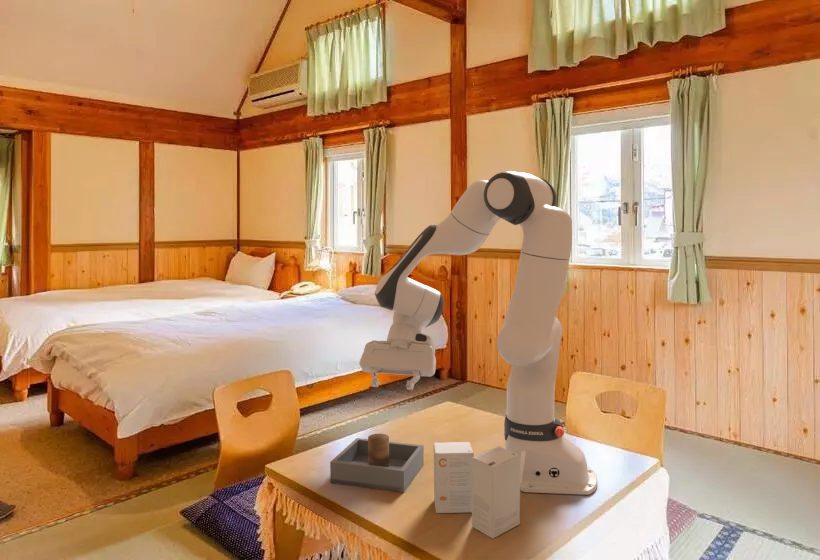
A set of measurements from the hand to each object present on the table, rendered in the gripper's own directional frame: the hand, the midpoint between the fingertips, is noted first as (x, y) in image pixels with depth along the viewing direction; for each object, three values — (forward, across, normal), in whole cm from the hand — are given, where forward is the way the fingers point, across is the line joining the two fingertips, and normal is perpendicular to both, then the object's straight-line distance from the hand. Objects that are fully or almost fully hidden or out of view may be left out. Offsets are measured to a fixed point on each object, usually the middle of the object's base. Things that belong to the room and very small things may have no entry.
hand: (391, 387), depth 148 cm
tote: (+20, 0, +6) cm, 21 cm away
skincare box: (+32, +31, -6) cm, 45 cm away
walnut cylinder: (+20, 0, +5) cm, 20 cm away
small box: (+28, +21, -2) cm, 35 cm away
